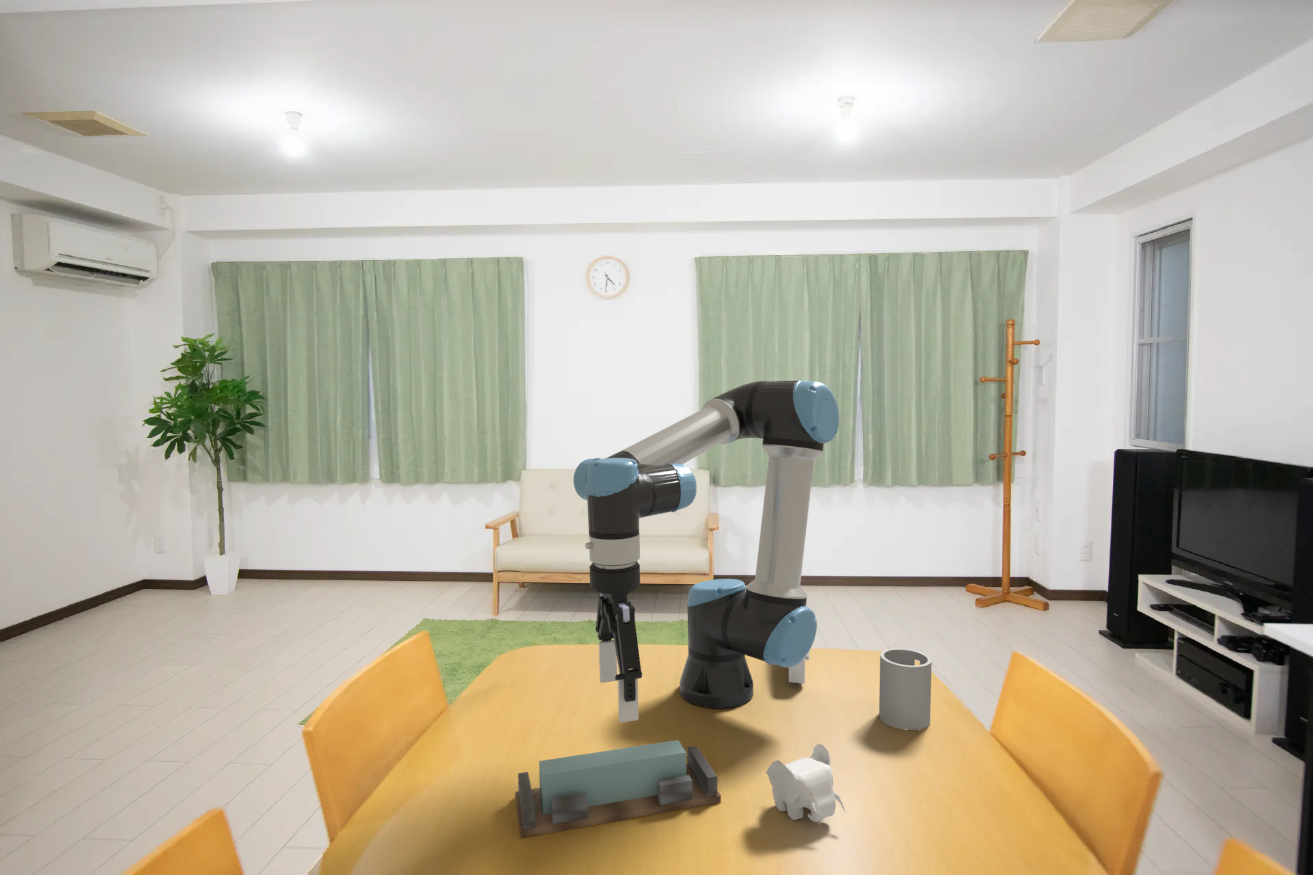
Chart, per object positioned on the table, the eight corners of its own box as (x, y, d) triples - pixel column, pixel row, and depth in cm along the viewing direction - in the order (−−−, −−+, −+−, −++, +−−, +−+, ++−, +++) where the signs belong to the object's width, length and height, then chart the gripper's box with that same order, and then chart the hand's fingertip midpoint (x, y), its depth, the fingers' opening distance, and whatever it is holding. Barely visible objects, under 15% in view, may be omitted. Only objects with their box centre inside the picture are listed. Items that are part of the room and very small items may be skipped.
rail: (678, 775, 112) (678, 739, 112) (686, 789, 108) (686, 752, 108) (539, 799, 106) (539, 760, 106) (543, 814, 102) (542, 775, 102)
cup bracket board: (698, 767, 116) (698, 744, 116) (720, 801, 107) (720, 776, 107) (515, 797, 108) (514, 772, 108) (521, 837, 99) (520, 810, 98)
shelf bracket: (807, 644, 172) (807, 598, 168) (809, 710, 148) (810, 658, 145) (784, 643, 173) (784, 597, 169) (783, 708, 149) (783, 656, 146)
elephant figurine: (810, 846, 96) (810, 784, 96) (753, 802, 107) (754, 746, 106) (858, 822, 102) (859, 763, 101) (800, 783, 112) (800, 729, 111)
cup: (877, 725, 130) (878, 662, 130) (881, 704, 139) (882, 645, 138) (929, 734, 127) (931, 669, 126) (930, 712, 135) (931, 651, 135)
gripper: (575, 545, 116) (579, 669, 117) (607, 588, 92) (611, 743, 94) (620, 541, 118) (623, 664, 120) (662, 583, 94) (665, 735, 96)
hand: (618, 699), depth 107 cm, fingers open, 13 cm apart
